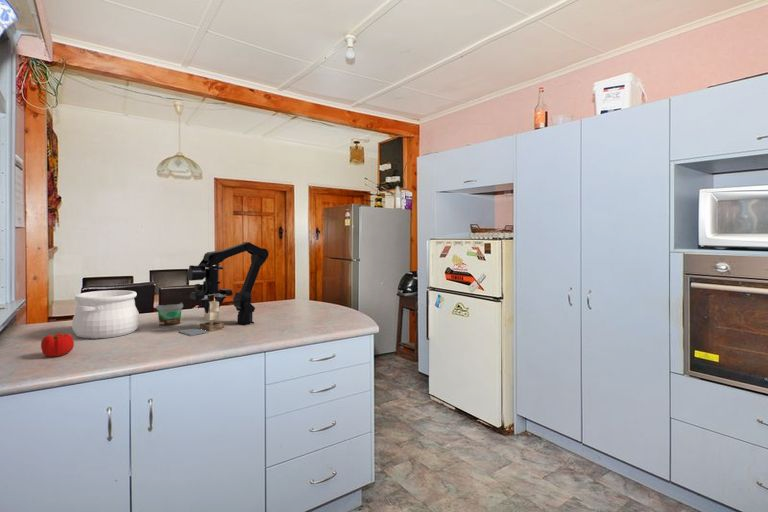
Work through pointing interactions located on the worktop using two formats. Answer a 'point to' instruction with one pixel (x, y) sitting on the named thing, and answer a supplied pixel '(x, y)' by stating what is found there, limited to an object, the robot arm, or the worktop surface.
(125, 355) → the worktop surface
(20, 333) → the worktop surface
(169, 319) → the food container
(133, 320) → the pot
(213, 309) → the birch block
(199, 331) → the slate mat
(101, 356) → the worktop surface
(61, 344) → the tomato
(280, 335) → the worktop surface
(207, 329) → the walnut pocket
